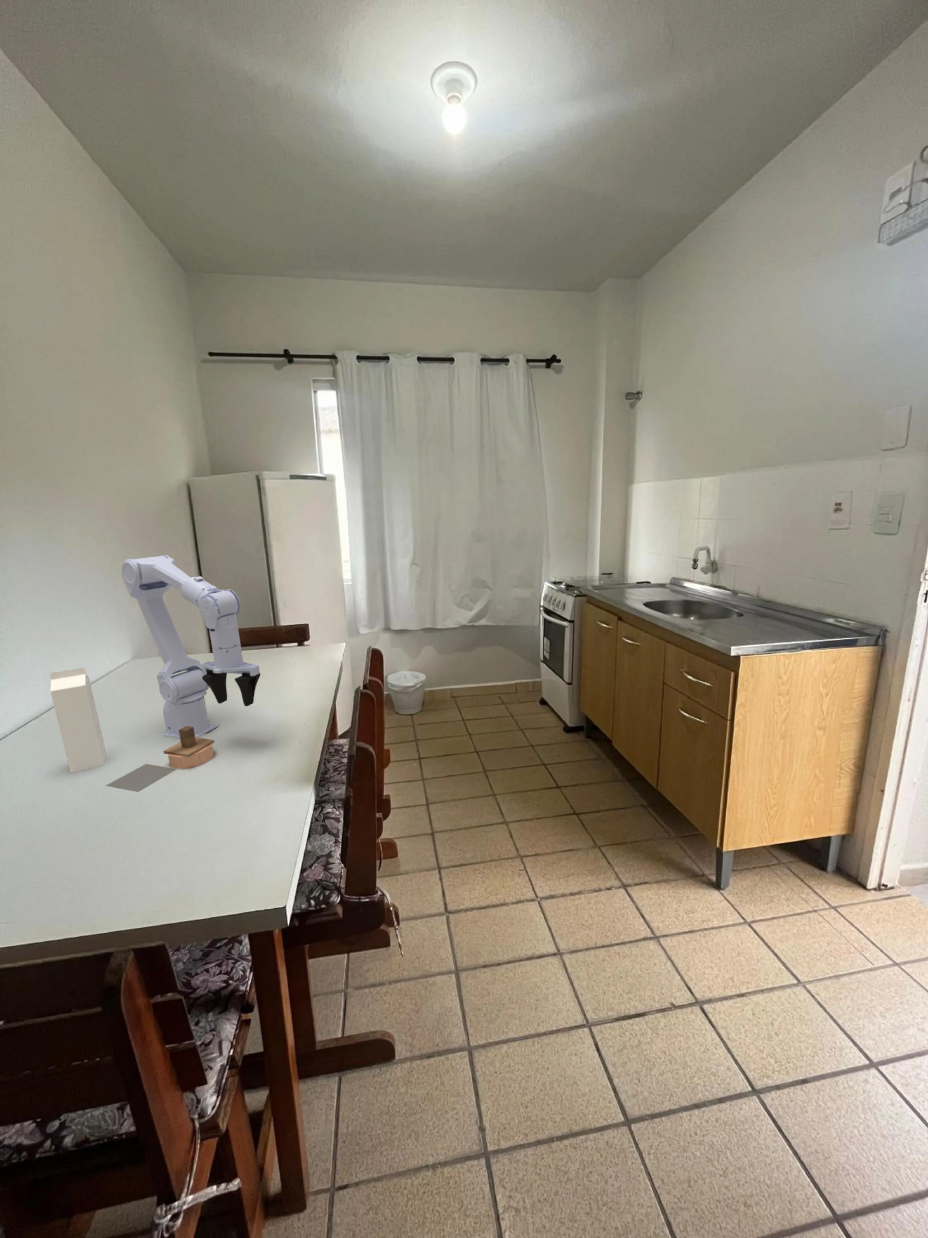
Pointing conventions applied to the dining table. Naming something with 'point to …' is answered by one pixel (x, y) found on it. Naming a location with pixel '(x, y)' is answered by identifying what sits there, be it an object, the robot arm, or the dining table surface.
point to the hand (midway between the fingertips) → (235, 703)
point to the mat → (141, 777)
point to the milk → (77, 719)
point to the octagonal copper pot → (192, 758)
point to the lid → (188, 743)
